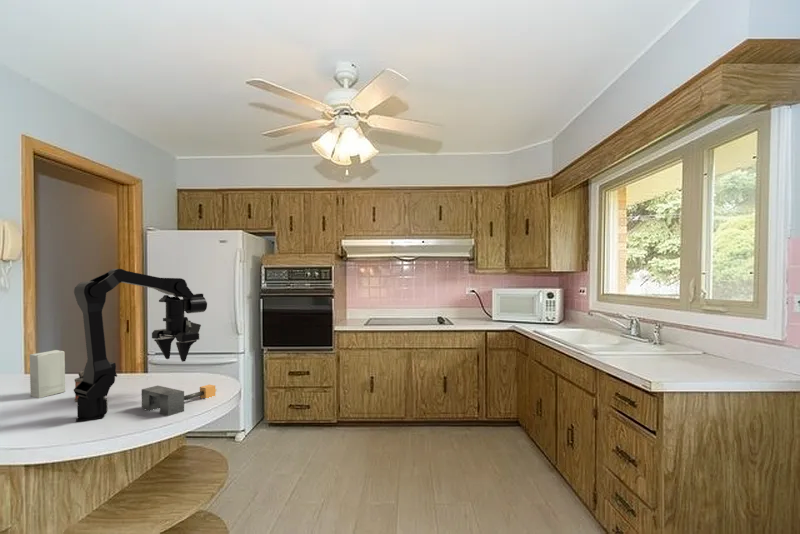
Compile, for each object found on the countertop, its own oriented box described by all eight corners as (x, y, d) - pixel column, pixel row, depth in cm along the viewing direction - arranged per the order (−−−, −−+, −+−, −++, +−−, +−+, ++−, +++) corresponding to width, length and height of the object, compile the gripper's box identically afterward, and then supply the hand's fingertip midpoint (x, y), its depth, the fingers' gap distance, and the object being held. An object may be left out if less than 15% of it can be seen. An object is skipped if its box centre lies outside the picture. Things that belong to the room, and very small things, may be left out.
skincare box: (57, 390, 153) (57, 349, 153) (66, 392, 150) (66, 350, 150) (28, 396, 145) (28, 353, 145) (37, 398, 142) (37, 354, 143)
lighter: (80, 402, 137) (80, 371, 137) (71, 402, 138) (71, 371, 138) (102, 395, 145) (102, 366, 145) (94, 395, 146) (94, 366, 146)
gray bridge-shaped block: (168, 416, 123) (167, 395, 123) (141, 408, 130) (141, 389, 130) (184, 411, 127) (184, 391, 127) (157, 404, 134) (157, 385, 134)
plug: (177, 407, 131) (177, 395, 131) (171, 405, 132) (171, 394, 132) (217, 395, 143) (217, 385, 143) (211, 394, 145) (211, 383, 145)
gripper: (213, 313, 147) (213, 358, 146) (181, 311, 156) (181, 353, 156) (182, 316, 137) (183, 364, 137) (150, 314, 146) (151, 359, 146)
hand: (175, 360), depth 144 cm, fingers open, 9 cm apart
